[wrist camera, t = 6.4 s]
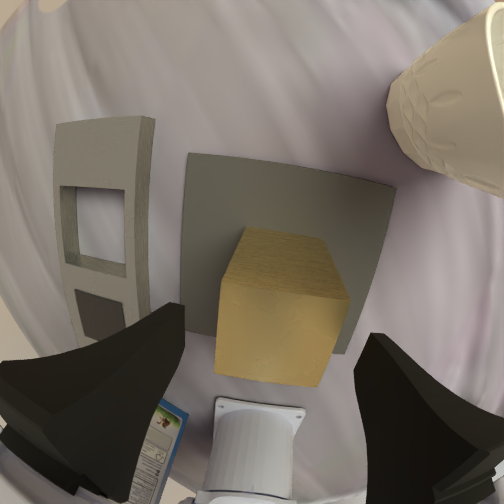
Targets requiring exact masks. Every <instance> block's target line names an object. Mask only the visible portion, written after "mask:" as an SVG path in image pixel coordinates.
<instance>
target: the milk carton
mask: <svg viewBox="0 0 504 504" xmlns="http://www.w3.org/2000/svg"><path fill="white" fill-rule="evenodd" d="M188 416H189V415H188V414H187V413H185V412H183V411H182V410H180V409H178V408H177V407H175V406H173V405H172V404H170V403H169V402H167V401H166V400H164V399H163V398H162V399H161V401H160V403H159V404H158V406H157V408H156V411H155V413H154V415H153V417H152V420H151V423H150V425H149V428H148V431H147V434H146V437H145V440H144V443H143V446H142V449H141V452H140V456H139V459H138V463H137V466H136V470H135V474H134V478H133V482H132V486H131V491H130V495H129V501H127V502H124V503H117V502H115V501H112V500H110V499H106V498H104V497H102V496H100V495H99V497H101V498H103V499H106V500H108V501H110V502H112V503H114V504H159V502H160V499H161V496H162V493H163V490H164V487H165V484H166V481H167V478H168V475H169V472H170V469H171V466H172V463H173V460H174V457H175V454H176V451H177V448H178V445H179V442H180V439H181V436H182V433H183V431H184V428H185V425H186V422H187V419H188Z"/></svg>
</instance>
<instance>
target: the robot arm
mask: <svg viewBox="0 0 504 504" xmlns="http://www.w3.org/2000/svg"><path fill="white" fill-rule="evenodd" d="M184 348H185V305H181V304H177V303H172V302H169V303H167V304H166V305H164V306H162V307H161V308H159V309H157V310H156V311H154V312H153V313H151V314H149V315H148V316H146V317H144V318H143V319H141V320H139V321H138V322H136V323H134V324H132V325H131V326H129V327H127V328H125V329H123V330H121V331H119V332H117V333H115V334H113V335H111V336H109V337H107V338H105V339H103V340H100V341H98V342H95V343H93V344H90V345H88V346H85V347H82V348H78V349H75V350H72V351H68V352H65V353H61V354H57V355H52V356H48V357H42V358H35V359H27V360H12V361H11V360H10V361H2V362H1V363H0V415H1V417H2V418H3V419H4V420H5V422H6V423H7V425H6V426H5V428H4V429H3V428H2V426H1V425H0V504H114V503H112V502H110V501H108V500H106V499H110V500H112V501H115V502H117V503H124V502H127V501H129V495H130V491H131V486H132V482H133V478H134V474H135V470H136V466H137V463H138V459H139V456H140V452H141V449H142V446H143V443H144V440H145V437H146V434H147V431H148V428H149V425H150V423H151V420H152V417H153V415H154V413H155V411H156V408H157V406H158V404H159V403H160V401H161V399H162V397H163V395H164V393H165V391H166V389H167V387H168V385H169V383H170V381H171V379H172V377H173V375H174V373H175V371H176V369H177V367H178V365H179V362H180V359H181V356H182V353H183V351H184ZM354 383H355V392H356V396H357V401H358V405H359V409H360V414H361V418H362V423H363V427H364V432H365V437H366V444H367V461H368V482H367V496H366V504H504V475H503V476H502V477H500V478H499V479H497V480H496V481H494V482H493V481H492V477H493V476H495V474H496V471H495V469H494V467H496V466H497V465H498V464H499V463H500V462H501V461H503V460H504V418H503V417H500V416H497V415H494V414H492V413H489V412H487V411H485V410H482V409H480V408H478V407H476V406H474V405H473V404H471V403H469V402H467V401H466V400H464V399H462V398H460V397H459V396H457V395H456V394H454V393H453V392H451V391H450V390H449V389H447V388H446V387H444V386H443V385H442V384H440V383H439V382H438V381H437V380H435V379H434V378H433V377H432V376H431V375H430V374H428V373H427V372H426V371H425V370H424V369H423V368H421V367H420V366H419V365H418V364H417V363H416V362H415V361H414V360H413V359H412V358H411V357H410V356H409V355H407V354H406V353H405V352H404V351H403V350H402V349H401V348H400V347H399V346H398V345H397V344H396V343H395V342H394V341H392V340H391V339H390V338H389V337H388V336H386V335H385V334H383V333H370V335H369V337H368V340H367V342H366V344H365V346H364V349H363V351H362V353H361V355H360V357H359V359H358V362H357V364H356V366H355V368H354ZM305 414H306V410H305V409H303V408H293V407H283V406H274V405H266V404H258V403H251V402H245V401H239V400H233V399H227V398H222V397H219V398H217V399H216V403H215V417H214V433H213V446H212V451H211V455H210V459H209V463H208V467H207V471H206V475H205V479H204V483H203V487H202V491H200V490H197V494H196V497H195V498H193V497H187V498H186V499H185V500H182V501H180V502H179V503H178V504H296V500H291V496H292V465H293V437H294V435H295V434H296V432H297V430H298V428H299V426H300V424H301V422H302V420H303V418H304V416H305ZM99 495H100V496H102V497H104V498H106V499H103V498H101V497H99Z"/></svg>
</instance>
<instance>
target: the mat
mask: <svg viewBox="0 0 504 504" xmlns="http://www.w3.org/2000/svg"><path fill="white" fill-rule="evenodd" d="M395 193H396V188H394V187H390V186H387V185H383V184H379V183H375V182H371V181H367V180H363V179H359V178H354V177H350V176H345V175H341V174H336V173H331V172H326V171H321V170H316V169H311V168H305V167H300V166H294V165H288V164H282V163H275V162H269V161H262V160H254V159H247V158H238V157H230V156H220V155H210V154H198V153H188V162H187V172H186V184H185V196H184V210H183V226H182V247H181V284H180V304H181V305H185V331H190V332H194V333H199V334H204V335H209V336H214V337H217V324H218V312H219V301H220V290H221V281H222V279H223V277H224V274H225V272H226V270H227V268H228V266H229V263H230V261H231V259H232V257H233V255H234V252H235V250H236V248H237V246H238V244H239V242H240V239H241V237H242V235H243V233H244V231H245V229H246V226H249V227H255V228H262V229H268V230H274V231H280V232H287V233H293V234H299V235H305V236H310V237H316V238H322V239H323V240H324V242H325V244H326V246H327V249H328V251H329V253H330V255H331V257H332V259H333V262H334V264H335V266H336V268H337V270H338V273H339V275H340V277H341V279H342V282H343V284H344V286H345V289H346V291H347V293H348V295H349V298H350V300H351V302H350V305H349V308H348V311H347V314H346V317H345V320H344V323H343V325H342V328H341V331H340V333H339V336H338V339H337V341H336V344H335V346H334V349H333V351H332V353H334V354H345V352H346V349H347V347H348V345H349V342H350V340H351V337H352V335H353V332H354V330H355V327H356V325H357V322H358V319H359V317H360V314H361V311H362V309H363V306H364V303H365V300H366V298H367V295H368V292H369V289H370V286H371V283H372V280H373V277H374V273H375V270H376V267H377V264H378V260H379V257H380V253H381V250H382V246H383V243H384V239H385V235H386V231H387V228H388V224H389V219H390V215H391V211H392V207H393V202H394V197H395Z"/></svg>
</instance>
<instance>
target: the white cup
mask: <svg viewBox="0 0 504 504" xmlns="http://www.w3.org/2000/svg"><path fill="white" fill-rule="evenodd" d="M386 108H387V113H388V119H389V125H390V130H391V132H392V134H393V135H394V137H395V139H396V141H397V142H398V144H399V146H400V148H401V150H402V151H403V153H404V154H405V155H407V156H408V157H409V158H410V159H411V160H413V161H414V162H415V163H416V164H417V165H418V166H420V167H421V168H423V169H427V170H431V171H435V172H439V173H441V174H444V175H446V176H448V177H450V178H451V179H453V180H456V181H459V182H461V183H464V184H466V185H468V186H471V187H474V188H477V189H479V190H482V191H485V192H487V193H490V194H492V195H495V196H497V197H500V198H502V199H504V2H496V3H494V4H492V5H490V6H489V7H487V8H486V9H484V10H483V11H481V12H480V13H478V14H477V15H475V16H474V17H472V18H471V19H469V20H468V21H466V22H465V23H463V24H462V25H460V26H459V27H457V28H456V29H455V30H453V31H452V32H450V33H449V34H447V35H446V36H445V37H443V38H442V39H440V40H439V41H438V42H437V43H436V44H435V45H434V46H432V47H431V48H429V49H428V50H427V51H426V52H424V53H423V54H422V55H421V56H420V57H418V58H417V59H416V60H415V61H414V62H413V63H412V65H411V66H410V67H408V68H407V69H406V70H404V71H403V72H402V73H401V74H400V75H399V76H398V77H397V78H396V79H395V80H394V81H393V82H392V83H391V86H390V90H389V95H388V99H387V103H386Z"/></svg>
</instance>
